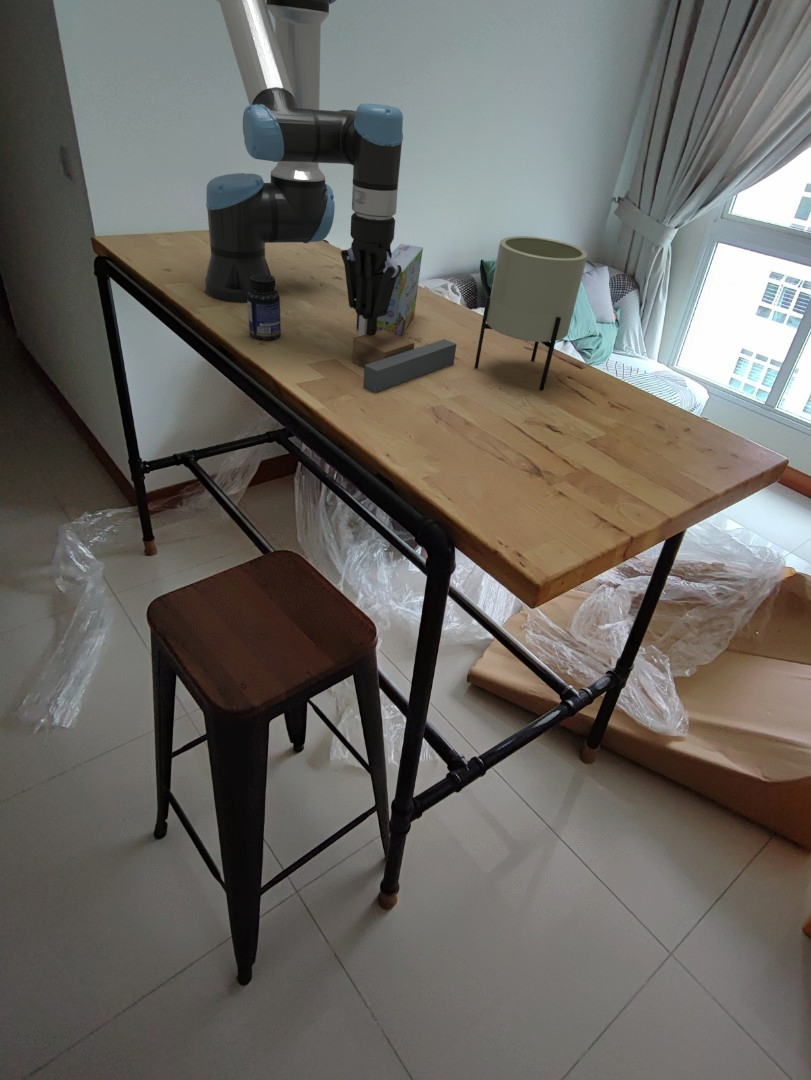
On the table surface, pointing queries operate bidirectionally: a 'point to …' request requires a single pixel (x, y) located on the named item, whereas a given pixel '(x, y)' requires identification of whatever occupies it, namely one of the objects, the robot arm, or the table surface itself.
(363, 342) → the block
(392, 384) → the gray rectangular bar
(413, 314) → the snack box
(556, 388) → the table surface
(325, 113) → the robot arm
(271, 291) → the pill bottle
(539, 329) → the planter
